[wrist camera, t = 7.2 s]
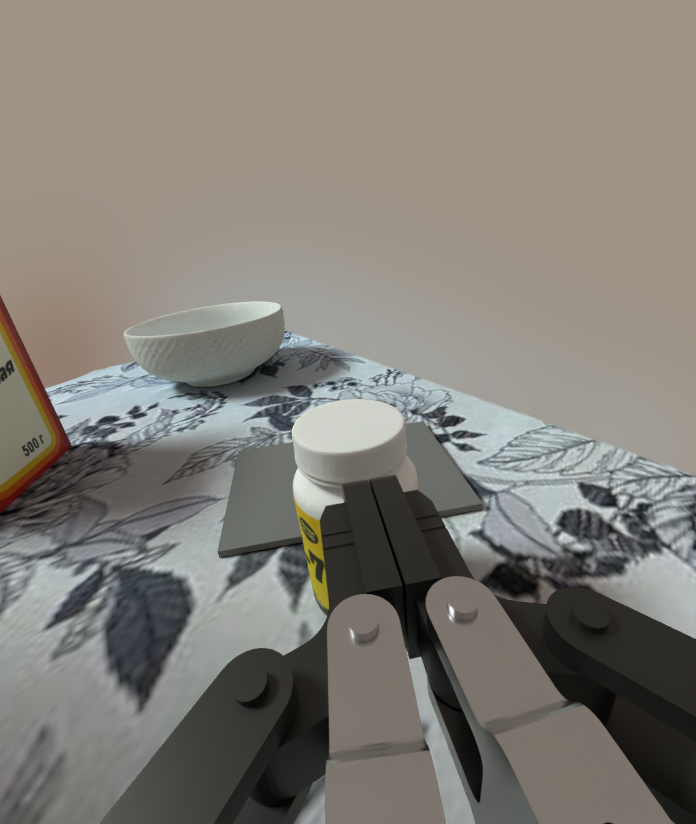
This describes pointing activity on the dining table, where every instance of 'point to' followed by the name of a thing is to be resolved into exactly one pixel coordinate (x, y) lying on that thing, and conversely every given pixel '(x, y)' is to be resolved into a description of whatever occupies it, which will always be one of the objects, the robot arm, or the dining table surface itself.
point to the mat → (274, 501)
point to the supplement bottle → (343, 466)
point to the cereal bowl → (208, 342)
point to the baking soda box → (24, 418)
